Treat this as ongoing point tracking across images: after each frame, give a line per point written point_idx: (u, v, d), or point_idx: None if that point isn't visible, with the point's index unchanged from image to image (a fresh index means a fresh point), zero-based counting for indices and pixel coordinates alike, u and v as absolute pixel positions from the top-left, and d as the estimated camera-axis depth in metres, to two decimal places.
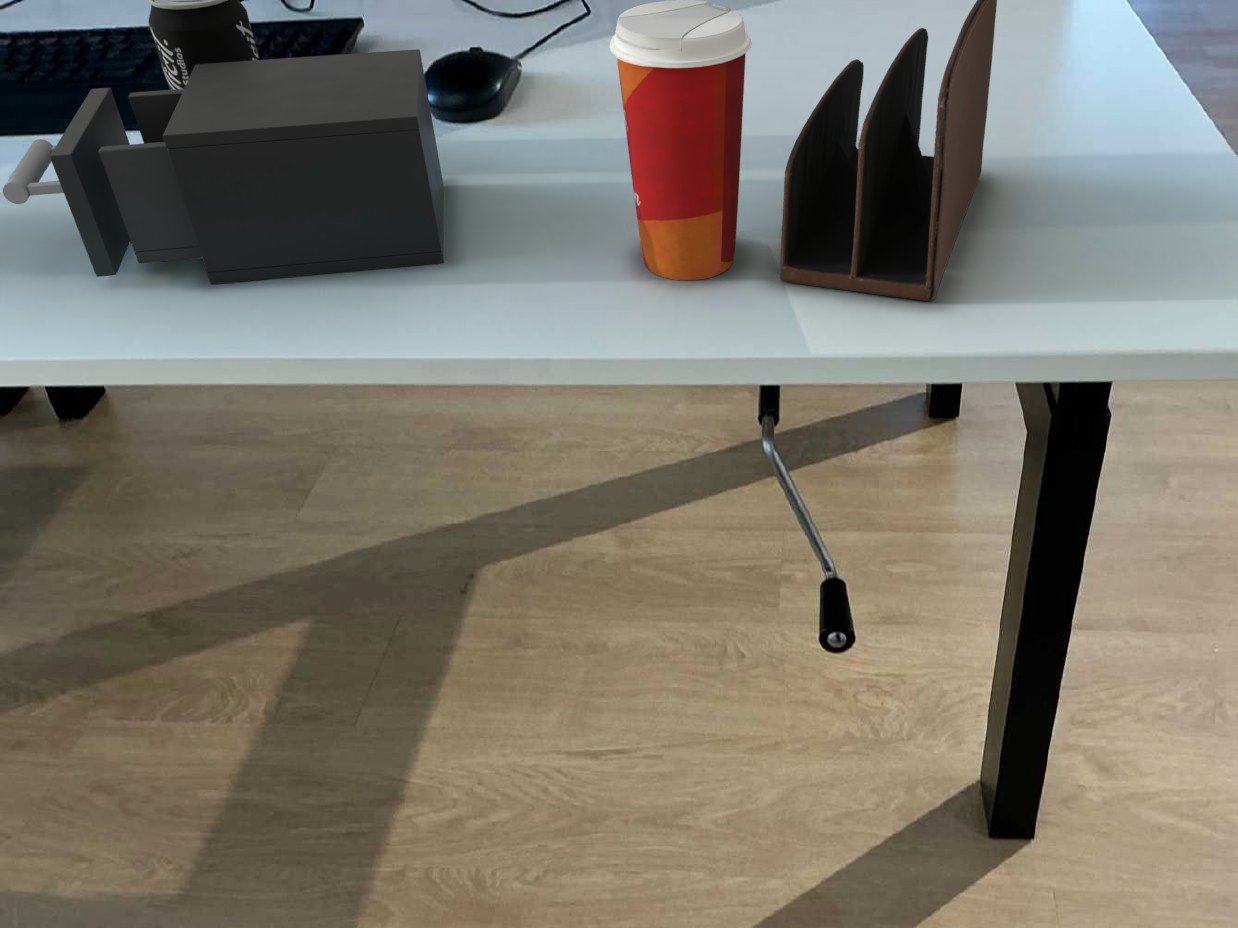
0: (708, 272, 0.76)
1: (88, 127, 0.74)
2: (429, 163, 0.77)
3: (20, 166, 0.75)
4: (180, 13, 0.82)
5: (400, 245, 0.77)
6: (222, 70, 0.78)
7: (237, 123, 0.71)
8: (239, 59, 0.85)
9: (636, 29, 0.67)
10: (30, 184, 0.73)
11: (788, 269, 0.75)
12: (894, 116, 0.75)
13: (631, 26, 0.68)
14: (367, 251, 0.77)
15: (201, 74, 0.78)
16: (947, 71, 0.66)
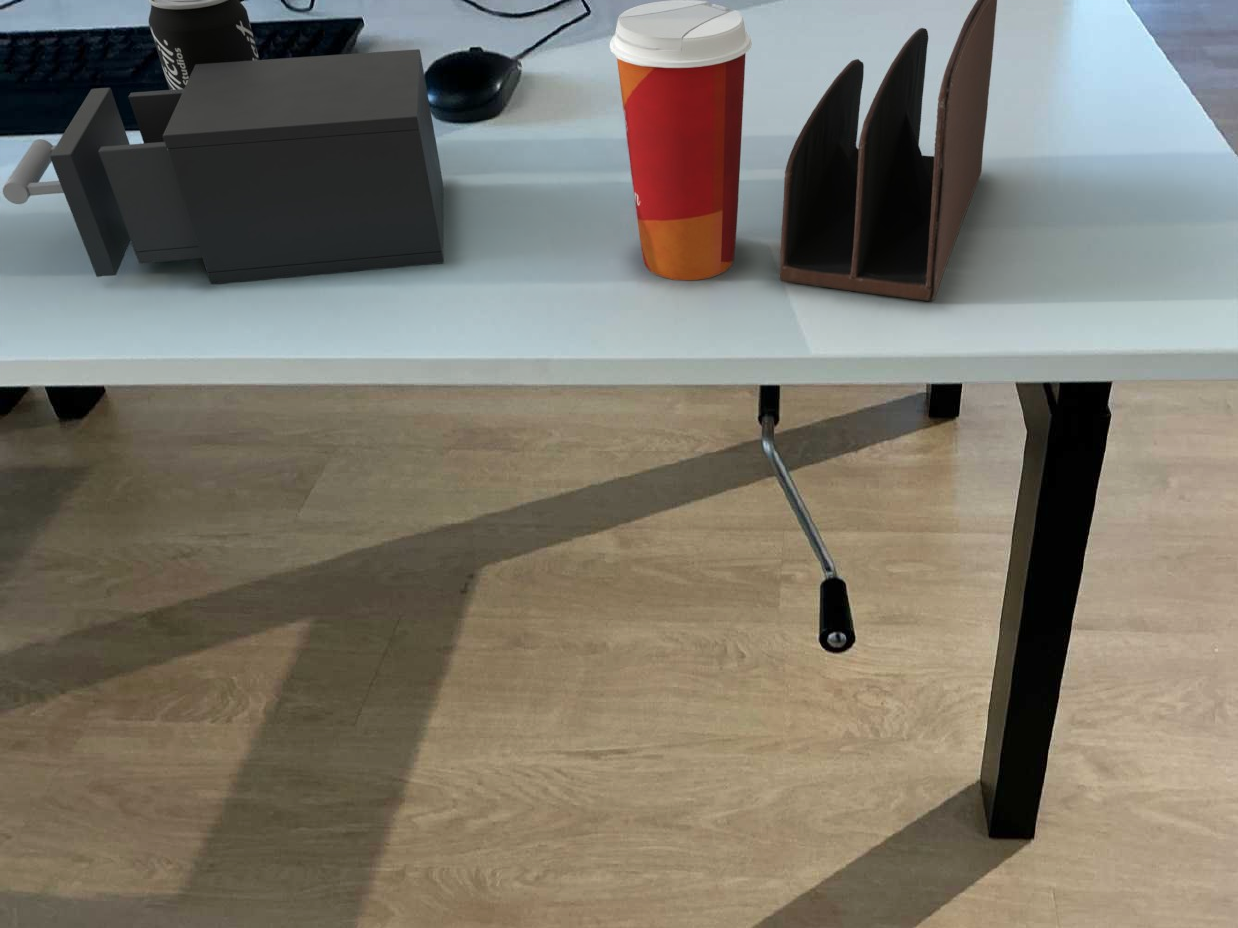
0: (708, 272, 0.76)
1: (88, 127, 0.74)
2: (429, 163, 0.77)
3: (20, 166, 0.75)
4: (180, 13, 0.82)
5: (400, 245, 0.77)
6: (222, 70, 0.78)
7: (237, 123, 0.71)
8: (239, 59, 0.85)
9: (636, 29, 0.67)
10: (30, 184, 0.73)
11: (788, 269, 0.75)
12: (894, 116, 0.75)
13: (631, 26, 0.68)
14: (367, 251, 0.77)
15: (201, 74, 0.78)
16: (947, 71, 0.66)
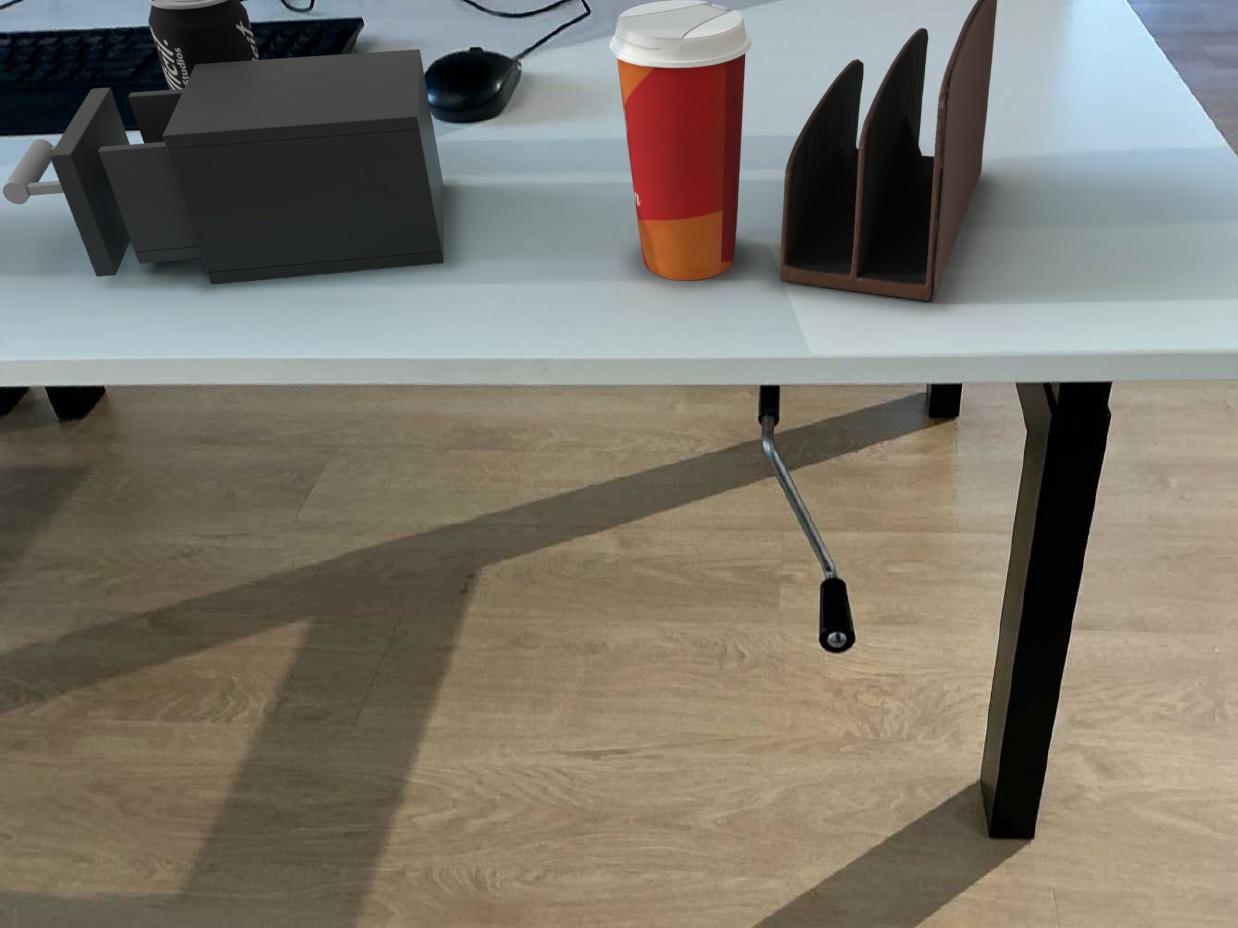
0: (708, 272, 0.76)
1: (88, 127, 0.74)
2: (429, 163, 0.77)
3: (20, 166, 0.75)
4: (180, 13, 0.82)
5: (400, 245, 0.77)
6: (222, 70, 0.78)
7: (237, 123, 0.71)
8: (239, 59, 0.85)
9: (636, 29, 0.67)
10: (30, 184, 0.73)
11: (788, 269, 0.75)
12: (894, 116, 0.75)
13: (631, 26, 0.68)
14: (367, 251, 0.77)
15: (201, 74, 0.78)
16: (947, 71, 0.66)
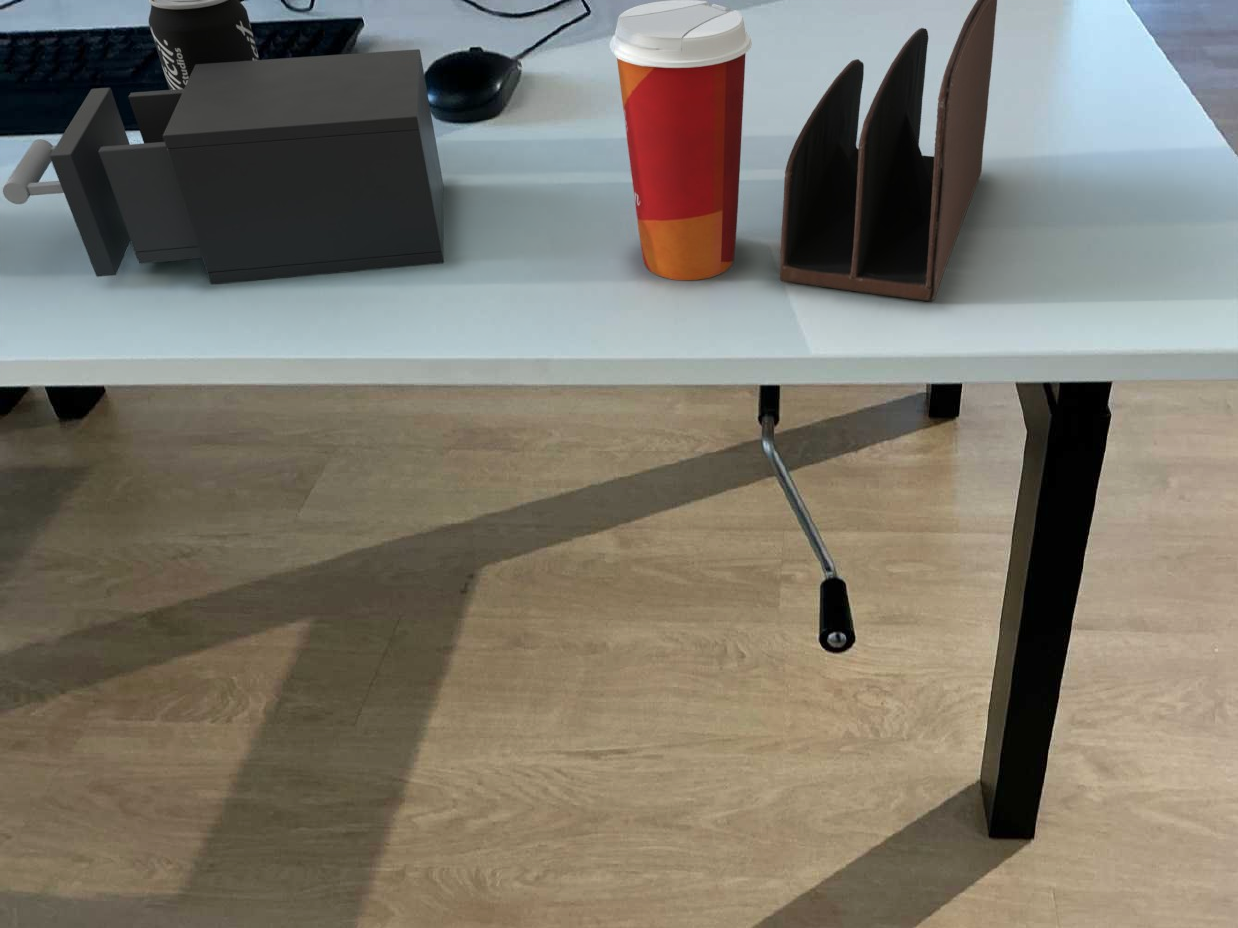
0: (708, 272, 0.76)
1: (88, 127, 0.74)
2: (429, 163, 0.77)
3: (20, 166, 0.75)
4: (180, 13, 0.82)
5: (400, 245, 0.77)
6: (222, 70, 0.78)
7: (237, 123, 0.71)
8: (239, 59, 0.85)
9: (636, 29, 0.67)
10: (30, 184, 0.73)
11: (788, 269, 0.75)
12: (894, 116, 0.75)
13: (631, 26, 0.68)
14: (367, 251, 0.77)
15: (201, 74, 0.78)
16: (947, 71, 0.66)
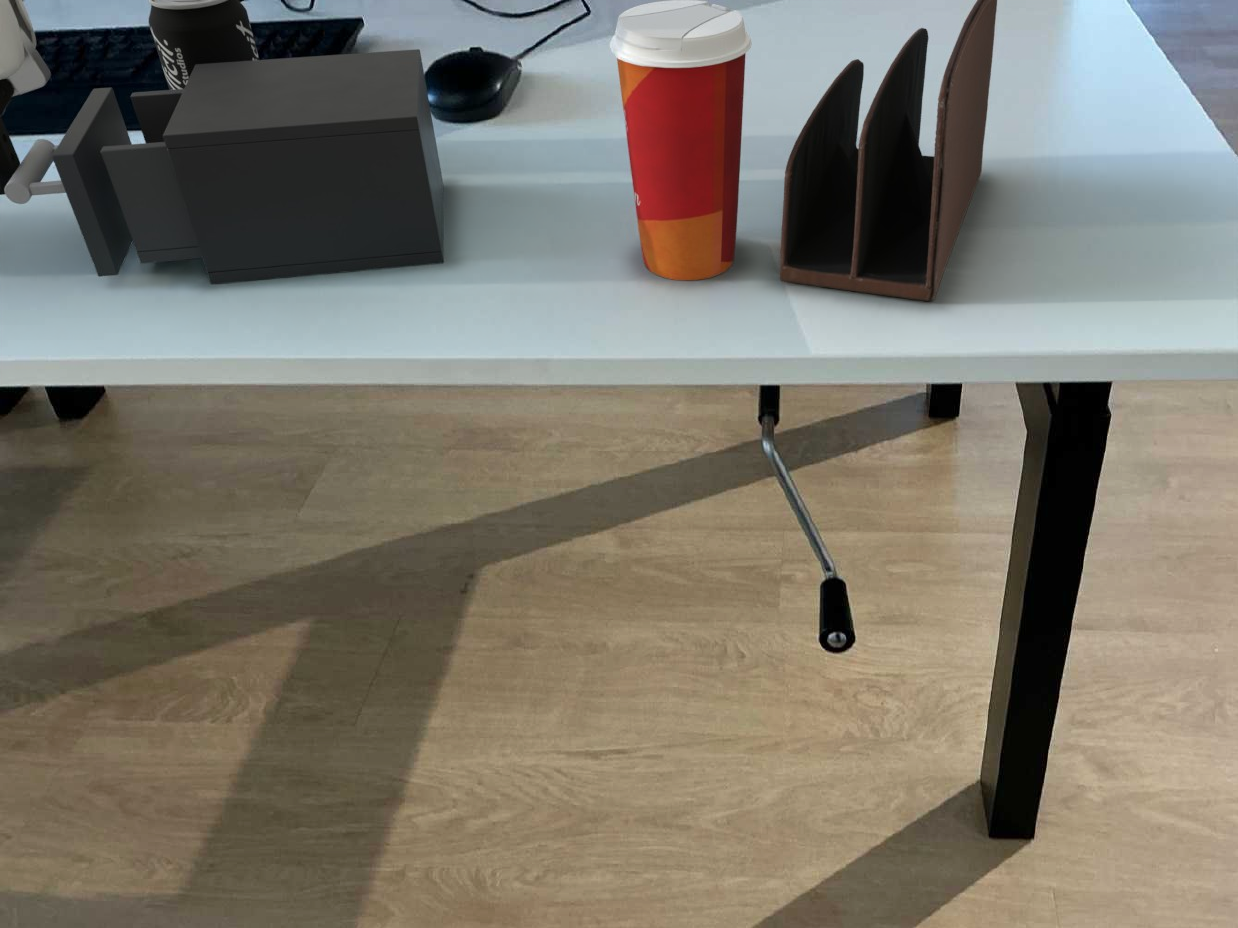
0: (708, 272, 0.76)
1: (90, 127, 0.74)
2: (429, 163, 0.77)
3: (22, 166, 0.75)
4: (180, 13, 0.82)
5: (400, 245, 0.77)
6: (222, 70, 0.78)
7: (237, 123, 0.71)
8: (239, 59, 0.85)
9: (636, 29, 0.67)
10: (32, 184, 0.74)
11: (788, 269, 0.75)
12: (894, 116, 0.75)
13: (631, 26, 0.68)
14: (367, 251, 0.77)
15: (201, 74, 0.78)
16: (947, 71, 0.66)
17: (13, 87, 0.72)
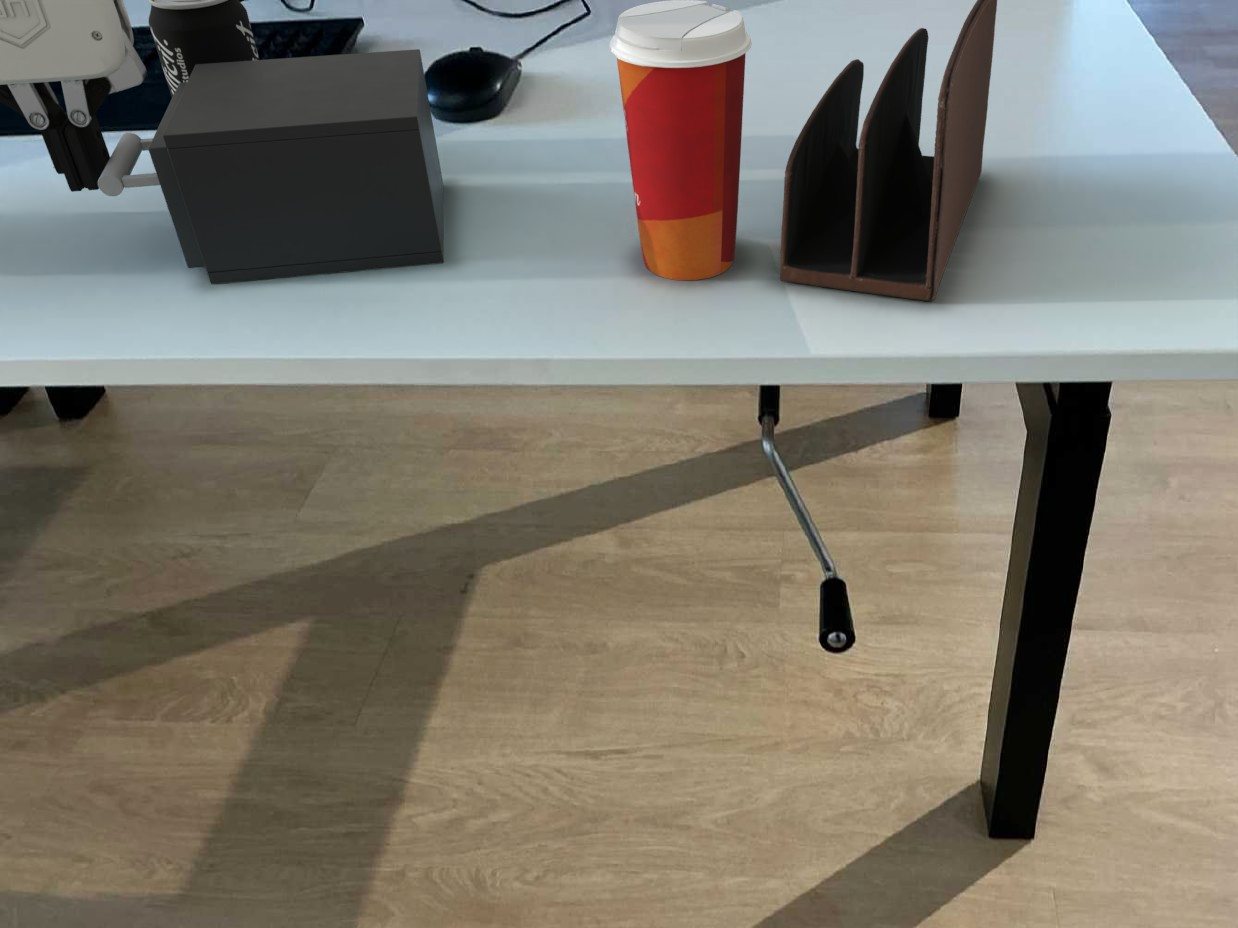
0: (708, 272, 0.76)
1: None
2: (429, 163, 0.77)
3: (113, 159, 0.75)
4: (180, 13, 0.82)
5: (400, 245, 0.77)
6: (222, 70, 0.78)
7: (237, 123, 0.71)
8: (239, 59, 0.85)
9: (636, 29, 0.67)
10: (124, 176, 0.74)
11: (788, 269, 0.75)
12: (894, 116, 0.75)
13: (631, 26, 0.68)
14: (367, 251, 0.77)
15: (201, 74, 0.78)
16: (947, 71, 0.66)
17: (110, 84, 0.73)
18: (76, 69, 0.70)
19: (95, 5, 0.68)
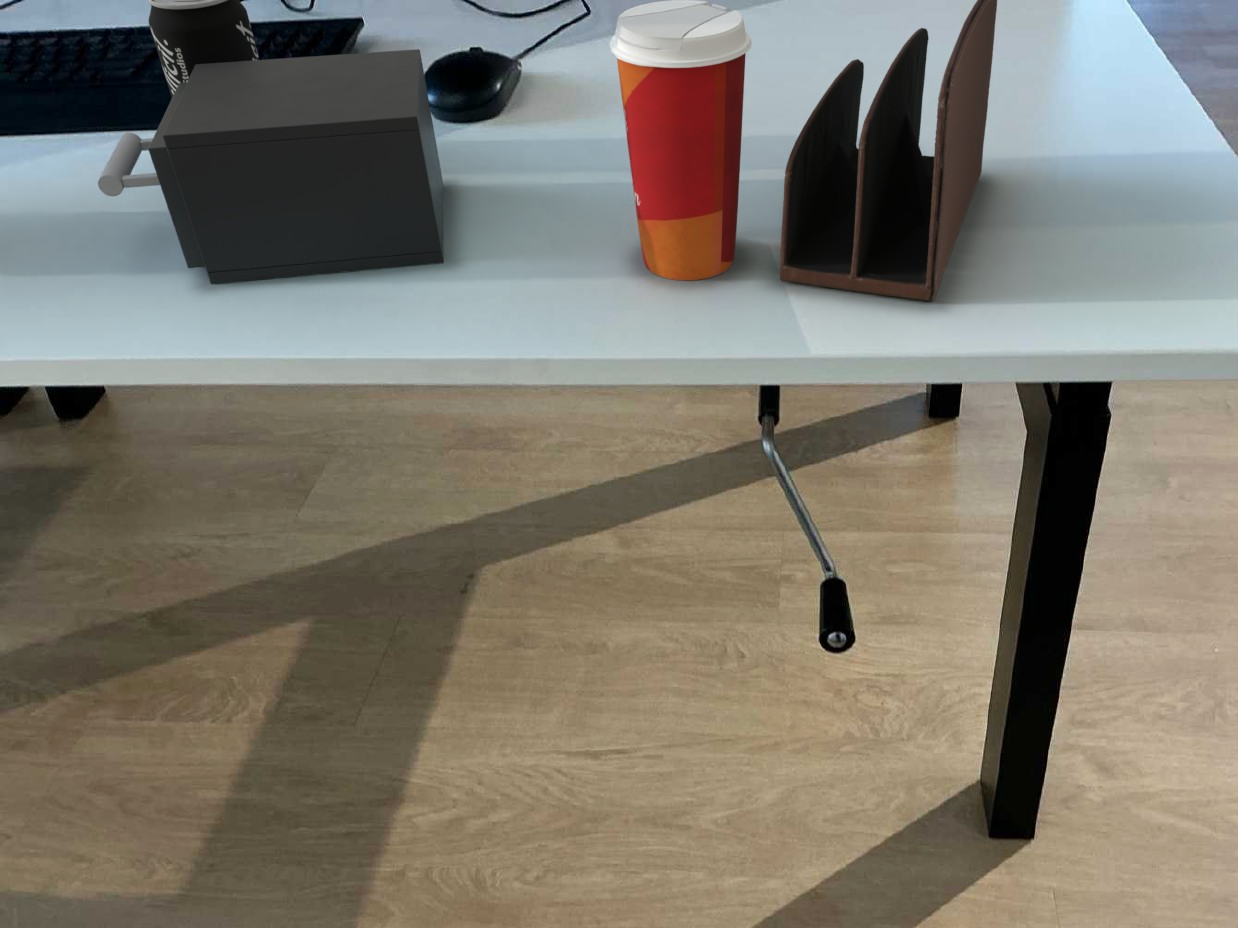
0: (708, 272, 0.76)
1: None
2: (429, 163, 0.77)
3: (113, 159, 0.75)
4: (180, 13, 0.82)
5: (400, 245, 0.77)
6: (222, 70, 0.78)
7: (237, 123, 0.71)
8: (239, 59, 0.85)
9: (636, 29, 0.67)
10: (124, 176, 0.74)
11: (788, 269, 0.75)
12: (894, 116, 0.75)
13: (631, 26, 0.68)
14: (367, 251, 0.77)
15: (201, 74, 0.78)
16: (947, 71, 0.66)
17: None
18: None
19: None
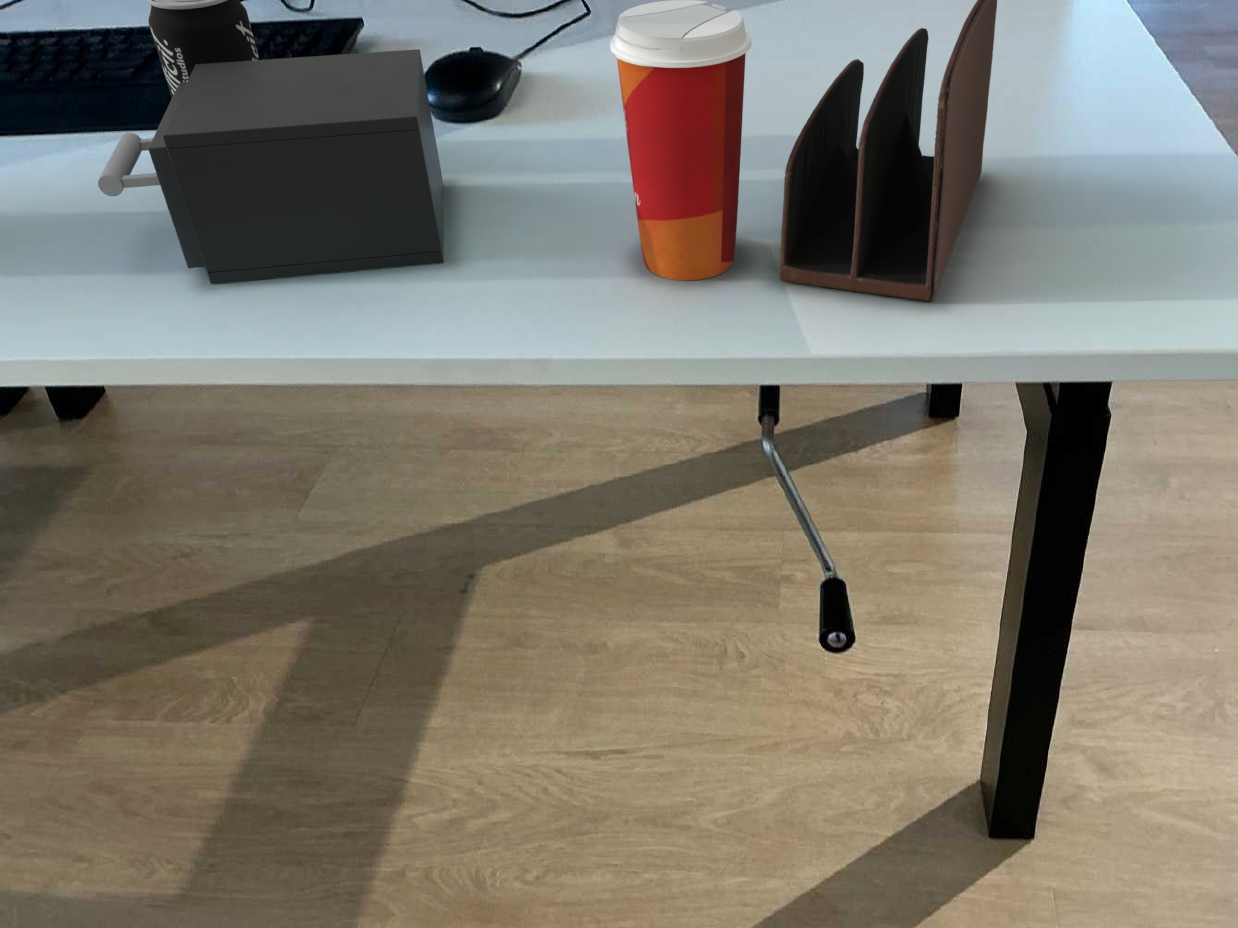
0: (708, 272, 0.76)
1: None
2: (429, 163, 0.77)
3: (113, 159, 0.75)
4: (180, 13, 0.82)
5: (400, 245, 0.77)
6: (222, 70, 0.78)
7: (237, 123, 0.71)
8: (239, 59, 0.85)
9: (636, 29, 0.67)
10: (124, 176, 0.74)
11: (788, 269, 0.75)
12: (894, 116, 0.75)
13: (631, 26, 0.68)
14: (367, 251, 0.77)
15: (201, 74, 0.78)
16: (947, 71, 0.66)
17: None
18: None
19: None
